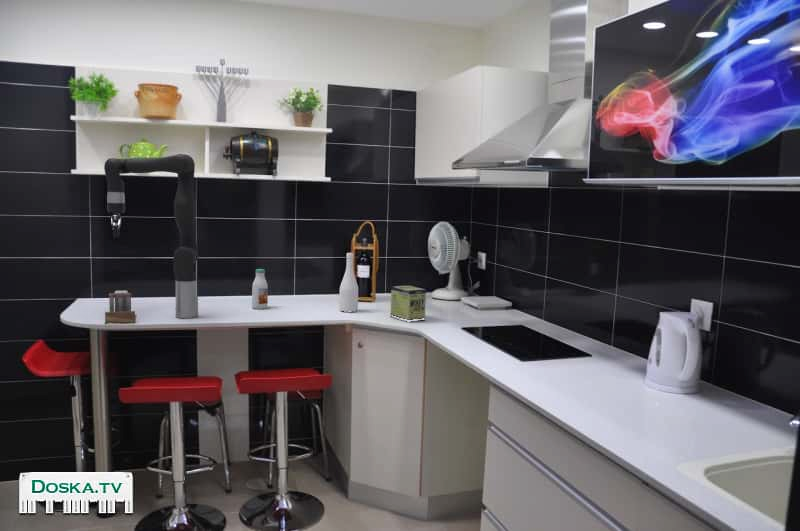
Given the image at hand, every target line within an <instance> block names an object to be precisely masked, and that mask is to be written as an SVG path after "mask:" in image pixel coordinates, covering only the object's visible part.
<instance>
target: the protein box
mask: <svg viewBox="0 0 800 531" xmlns="http://www.w3.org/2000/svg"><path fill="white" fill-rule="evenodd" d="M390 292H391V294H390V296H391V297H390V313H389V314H390V315H393V316H396V317H399V318H403V319H407V320H413V319H422V318H425V319H426V306H427V305H426V304H427V303H426V302H427V301H426V300H427V289H426V288H421V287H416V286H413V285H394V286H392V285H391V291H390Z"/></svg>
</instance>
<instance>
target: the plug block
mask: <svg viewBox="0 0 800 531" xmlns="http://www.w3.org/2000/svg"><path fill="white" fill-rule="evenodd" d="M118 293H123V296H122V301H123V311H127V296H126V293H129V292H128V290H115V291H114V312H118Z"/></svg>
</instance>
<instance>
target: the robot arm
mask: <svg viewBox="0 0 800 531" xmlns="http://www.w3.org/2000/svg"><path fill="white" fill-rule="evenodd" d="M195 166H196V164H195V160H194V158H193V157H192V156H191V155H189V154H184V153H177V154H174V155H169V156H161V157H130V158H115V157H110V158H108V159H107V160H105V162H104V166H103V168H104V174H105V179H106V183H107V196H106V200H107V201H106V203H107V204H106V207H107V208H106V210H107V212H108V213H112V215H111V217H110V218H111V219H110V220H111V228H112V237H113V238H119V237H120V235H121V232H120V230H121V229H120V228H121V224H122V216H121V214H122V213H123V214H124V213H125V212H126V200H125V198H126V196H125V182H124V180H123V179H121V175H124V174H149V173H155V172H161V173H162V172H164V173H172V174H177V184H178V185H177V190H176V193H175V198H174V202H173V209H174V210H173V211H174V220H175V224H176V227H177V229H178V232H179V238H180V239H179V241H180V245H179V247H178V248H176V250H175V251H174V253H173V274H174V277H175V318H178V319H194V318H196V317H199V296H198V295H197V274H196V272H195V267H194V264H195V263H196V262H197V261H198V259H199V250H198V242H197V236H196V235H197V234H196V232H197V231H196V230H197V229H196V228H197V227H196V226H197V224H196V201H195V187H194V186H195V170H196V169H195V168H196V167H195ZM120 213H121V214H120Z"/></svg>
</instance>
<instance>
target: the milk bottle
mask: <svg viewBox="0 0 800 531" xmlns="http://www.w3.org/2000/svg"><path fill="white" fill-rule="evenodd" d="M265 273H266V271H265V268H257V269H255V278H254V280H253V282H252V287H251V288H252V290H251V307H252V309H255V310H266V309H268V299H269V298H268V296H269V293H268V290H269V287H268V282H267V280H266V276H265Z"/></svg>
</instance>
